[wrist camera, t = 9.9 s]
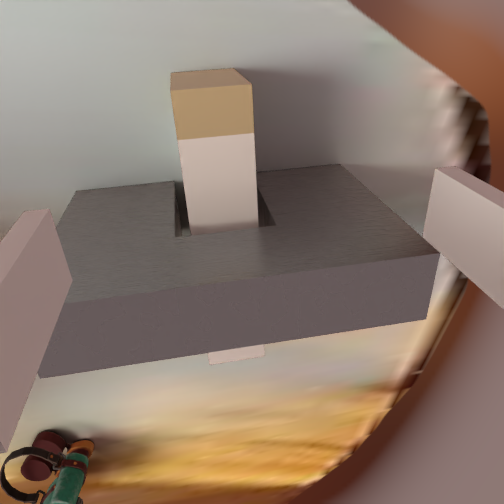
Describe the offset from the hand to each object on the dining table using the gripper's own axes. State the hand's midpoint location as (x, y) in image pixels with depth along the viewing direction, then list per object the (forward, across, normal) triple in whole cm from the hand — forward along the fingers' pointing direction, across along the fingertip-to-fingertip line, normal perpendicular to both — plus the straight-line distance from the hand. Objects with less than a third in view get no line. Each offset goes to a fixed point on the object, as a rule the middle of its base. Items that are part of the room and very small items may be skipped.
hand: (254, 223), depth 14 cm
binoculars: (+23, -24, -40) cm, 52 cm away
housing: (+23, 0, -9) cm, 25 cm away
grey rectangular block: (+23, 0, -9) cm, 25 cm away
